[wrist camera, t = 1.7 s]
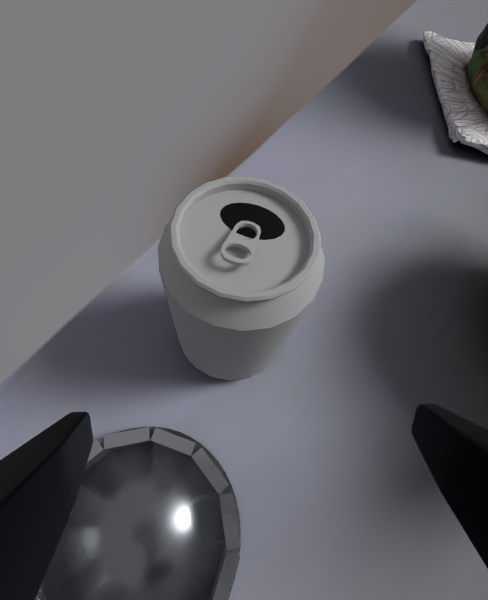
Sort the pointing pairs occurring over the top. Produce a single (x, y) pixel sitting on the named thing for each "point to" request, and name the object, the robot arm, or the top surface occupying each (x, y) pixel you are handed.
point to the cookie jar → (461, 86)
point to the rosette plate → (148, 523)
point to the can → (239, 273)
